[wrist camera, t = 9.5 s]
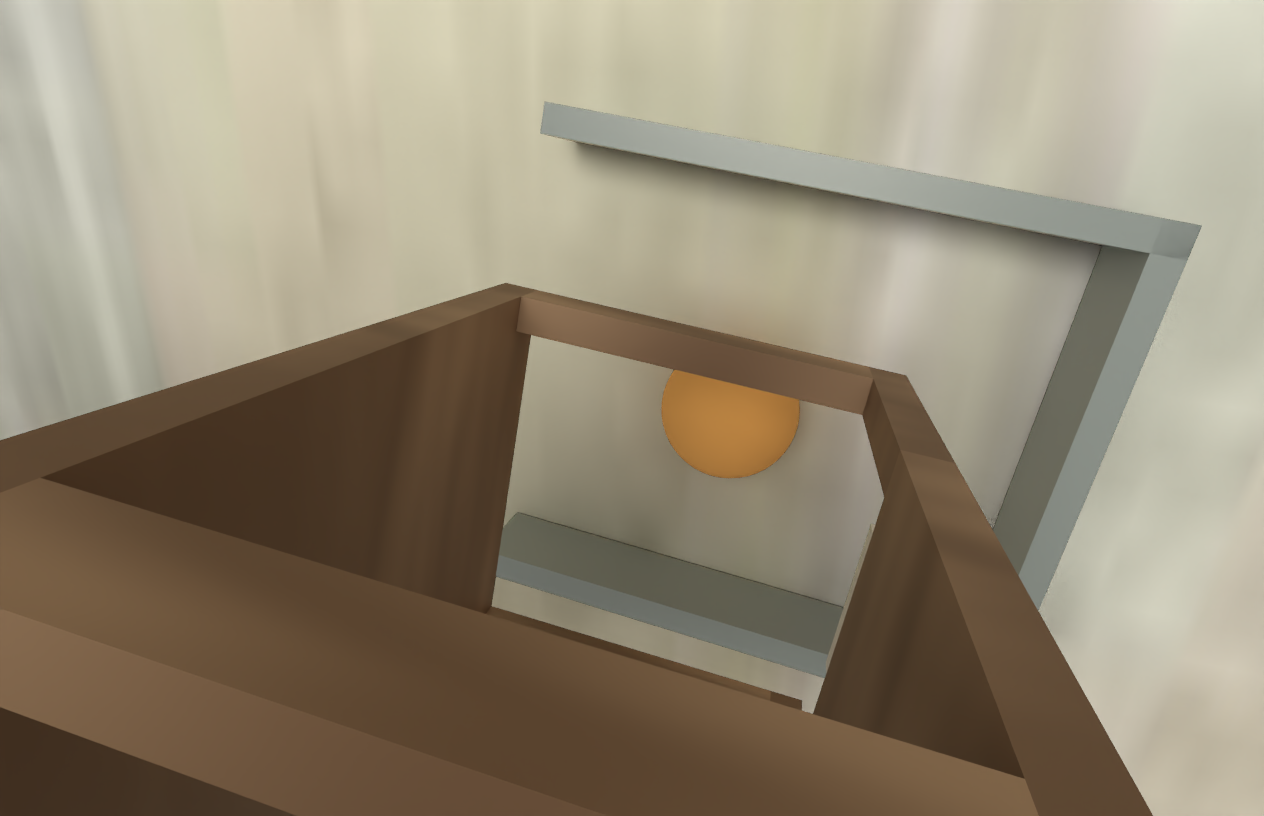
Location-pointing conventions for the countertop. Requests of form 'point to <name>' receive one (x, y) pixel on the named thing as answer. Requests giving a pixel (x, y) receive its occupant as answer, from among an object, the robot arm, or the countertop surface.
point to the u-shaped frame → (1052, 458)
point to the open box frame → (481, 609)
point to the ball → (726, 424)
